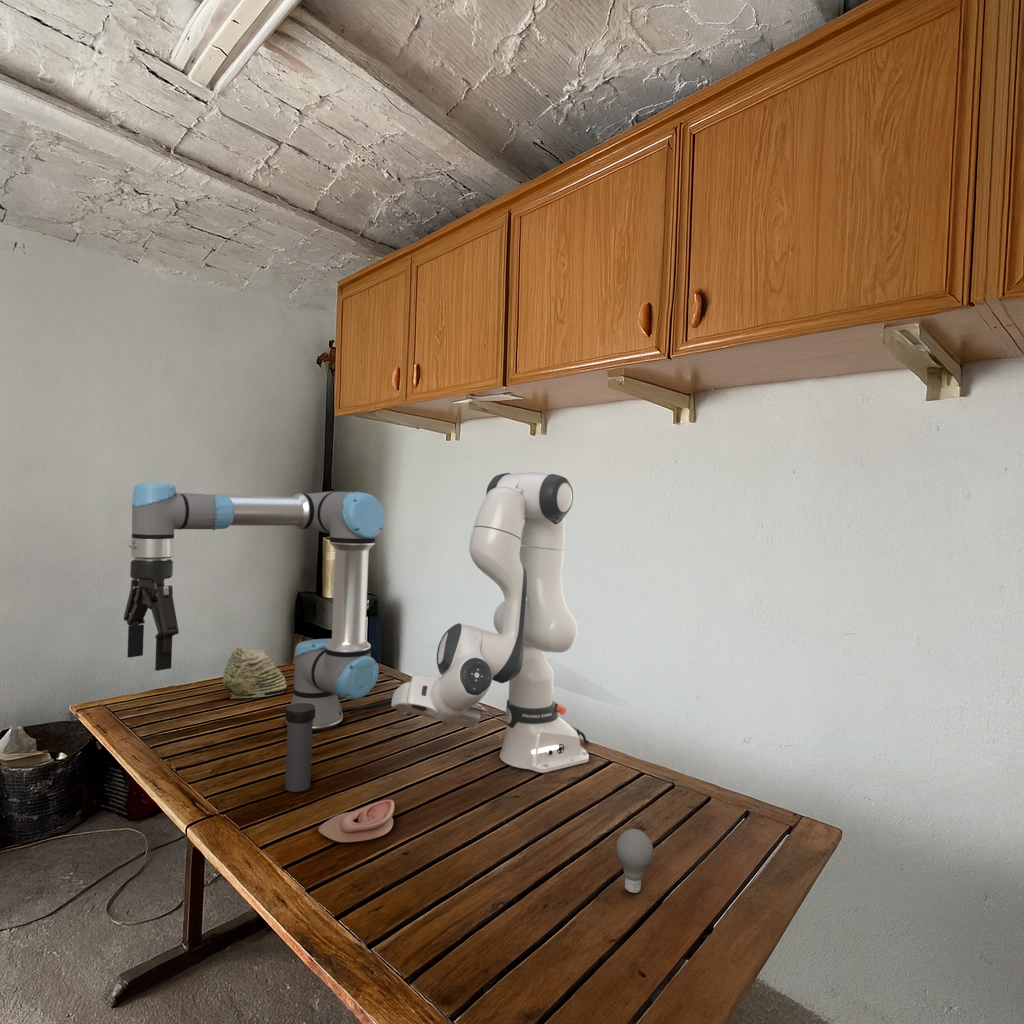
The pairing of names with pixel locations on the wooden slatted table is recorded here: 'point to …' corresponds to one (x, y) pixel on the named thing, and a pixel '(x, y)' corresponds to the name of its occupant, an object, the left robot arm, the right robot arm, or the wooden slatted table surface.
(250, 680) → the fossil
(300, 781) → the jar
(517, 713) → the right robot arm
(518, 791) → the wooden slatted table surface
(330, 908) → the wooden slatted table surface
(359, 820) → the anatomical model
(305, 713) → the lid
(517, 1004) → the wooden slatted table surface
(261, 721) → the wooden slatted table surface
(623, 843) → the light bulb
